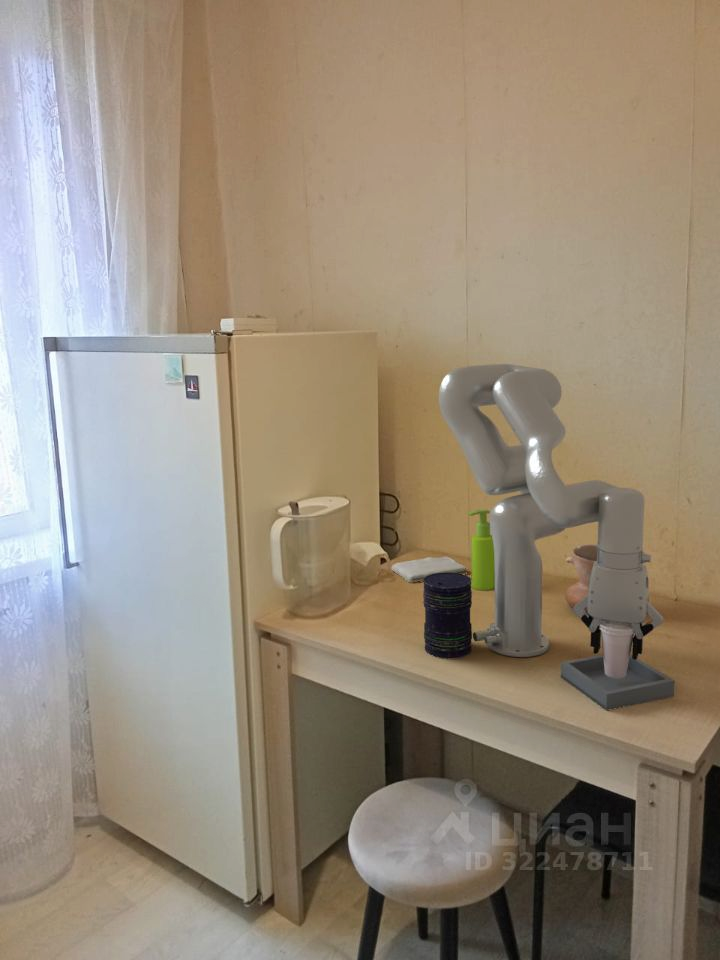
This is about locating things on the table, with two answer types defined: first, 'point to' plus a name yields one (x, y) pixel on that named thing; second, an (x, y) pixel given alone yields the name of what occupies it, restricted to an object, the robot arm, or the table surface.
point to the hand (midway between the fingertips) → (615, 652)
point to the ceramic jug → (581, 573)
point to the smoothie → (616, 646)
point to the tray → (617, 682)
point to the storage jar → (447, 615)
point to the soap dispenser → (482, 554)
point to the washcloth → (426, 568)
